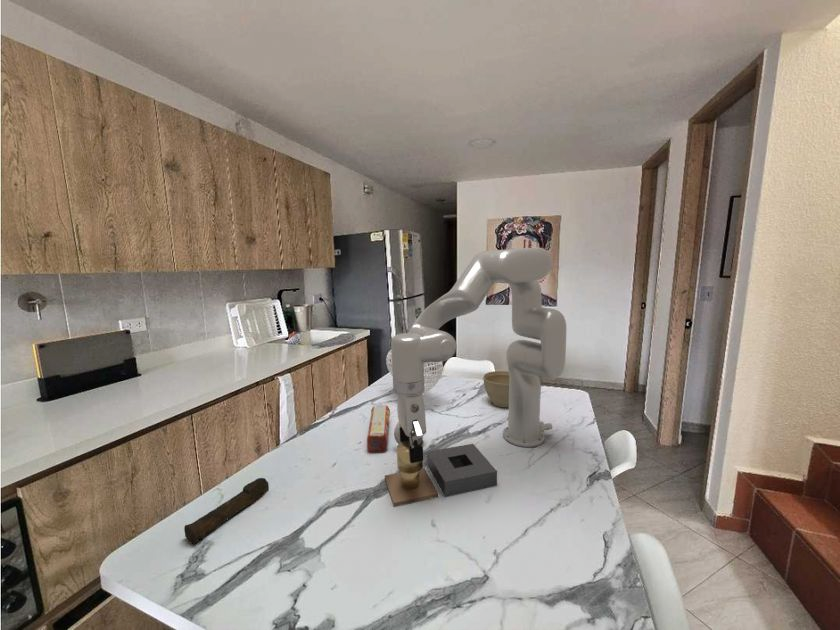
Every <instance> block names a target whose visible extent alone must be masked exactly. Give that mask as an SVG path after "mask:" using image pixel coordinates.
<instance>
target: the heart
mask: <svg viewBox="0 0 840 630" xmlns="http://www.w3.org/2000/svg"><path fill="white" fill-rule="evenodd" d="M385 361H386V362H385V364H386V367H387V370H388V372H389V373H390V375H391V376H392V377H393V373H392V351H391V349H390V350H389V351H388V353H387V354H386V358H385ZM443 370H444V366H443V361H442V362H429V363H424V392H423V393H422V395H423V397H424V396H425V395H426V394H427V393H428V392H430V391H431V390H432V389H433V388H434V387H435V386H436V385H437V384H438V382H439V381H440V379H441V378H442V375H443Z"/></svg>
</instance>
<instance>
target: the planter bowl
mask: <svg viewBox="0 0 840 630" xmlns="http://www.w3.org/2000/svg"><path fill="white" fill-rule="evenodd" d="M482 378H483V386H484V390H485V393H486V394H487V396H488V397H489V399H490V400H491V404H493V406H496V407H500V408H509V370H496V371H495V370H494V371H488V372H486V373H485V374H484V375H483V377H482Z"/></svg>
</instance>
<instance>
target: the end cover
mask: <svg viewBox="0 0 840 630" xmlns="http://www.w3.org/2000/svg"><path fill="white" fill-rule="evenodd" d="M413 442H414V441H413ZM409 446H411V445H410V440H409V441H403V442H401V443H399V444H398V443H397V446H396V460H397V461H396V466H397V467H396V468H397V469H398V470H399V471H400V472H401V473H402V487H403V488H405V489H407V490H413V489H416V488H417V487H418V486H419V471H420V470H421V469H422V468H424V467H423V466H424V460H423V461H420V462H415V463H411V462H410V453H409Z"/></svg>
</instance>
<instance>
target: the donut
mask: <svg viewBox="0 0 840 630" xmlns="http://www.w3.org/2000/svg"><path fill="white" fill-rule="evenodd" d="M412 433H415V431H412ZM422 435H423V436H424V435H425V434H422ZM393 437H394V440H395V442H396V444H397V445H398V444H399V443H401V441H400V424H399V421H398V422H397V423H396V425H395V428H394V433H393ZM412 438H413V441H414V440H416V436H415V437H412Z"/></svg>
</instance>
